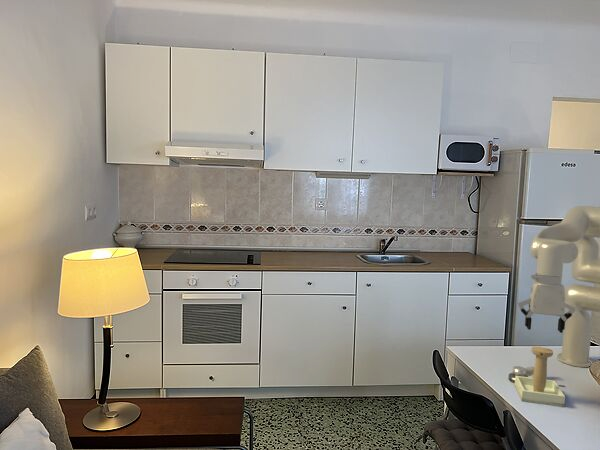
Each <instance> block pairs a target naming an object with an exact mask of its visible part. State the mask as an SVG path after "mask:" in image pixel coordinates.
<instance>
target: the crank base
mask: <svg viewBox="0 0 600 450" xmlns="http://www.w3.org/2000/svg"><path fill="white" fill-rule="evenodd" d="M526 377H529V376H526ZM507 380H508V381H509V382H511V383H513V384H515V377H514V376H513V372H510V373H508V379H507ZM558 387H562V388H563V387H564V388H566V385H562V384H559V385H558Z"/></svg>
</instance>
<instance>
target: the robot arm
mask: <svg viewBox="0 0 600 450" xmlns="http://www.w3.org/2000/svg"><path fill="white" fill-rule="evenodd" d="M595 238H598V239H600V206H591V205H590V206H589V205H588V206H587V205H576V206H573V207H572V208H570V209H569V210H568V212H566V214H565V215H564V217H563V219H562V220H561V222H559V223H556V224H553V225H550V226H548V227H545V228H543V229H541V230H539V231H538V232H537V233H536V235H535V236H534V238H533V239H532V241H531V243H530V247H529V252H530V255H531V256H532V258H534V259H536V260H537V261H536V272H535V274H531V275H530V278H531V280H535V281H533V283H532V286H531V288H530V289H531V290H530V294H529V298H527V299H525V300H521V301H519V302H518V303H517V306H518V308H519V310H520V312H522V314H523V316H525V320H524V326H525V327H526V328H527V330H529V331H530V330H531V329H532V321H533V320H532V316H533V315H534V314H535V315H537V314H538V315H544V316H545V315H547V316H557V317H559V318H558V322H557V331H558V332H559V333H560V334H562V336H563V338H562V346H561V353H557V354H556V359H557V360H558V361H559V362H561V363H563V364H566V365H569V366H573V367H579V368H590V367H589V365H590V364H591V362H593V360H591V358H590V347H591V339H592V329H593V319H592V317H591V315H590V314H589V312H588V311H590V312H595V313H600V287H597V286H592V285H585V284H579V283H574V284H569V285H568V286H567V287H566V288H565V285H563V284H562V281H563V280H562V278H563V267H564V264H570V263H572V264H571V265H572V266H571V276H572V278H573V279H574V280H576V281H579V282H584V283H589V284H597V285H600V259H599V256H600V255H599V253H600V246H599V243H598V242H597V240H596V239H595ZM526 305H528V309H527V310H526V309H525V306H526ZM593 363H594V362H593Z"/></svg>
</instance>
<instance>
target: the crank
mask: <svg viewBox="0 0 600 450" xmlns="http://www.w3.org/2000/svg"><path fill="white" fill-rule="evenodd" d="M512 367H513V368H512V373H513V376H514V377H515V376H522V377H526V376H528V377H531V376H532V377H533V375H534V368H535V366H530V367H522V366H518V365H517V366H515V365H514V366H512Z"/></svg>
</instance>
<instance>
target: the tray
mask: <svg viewBox="0 0 600 450" xmlns="http://www.w3.org/2000/svg"><path fill="white" fill-rule="evenodd" d="M514 387H515V390H516V391H517V394H518V397H519V398H520V400H521V402H527V403H533V404H540V405H548V406H553V407H554V406H555V407H562V408H564V407H565V400H566V396H565V394H564V393H563V392H562V390H561V389H560V386H559V385H558V384H557V382H556V381H555V380H554V379H553V380H551V379H546V386H545V389H544V393H542V392H534V390H533V388H534V387H533V377H531V376H528V377H522V376H515V383H514Z"/></svg>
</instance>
